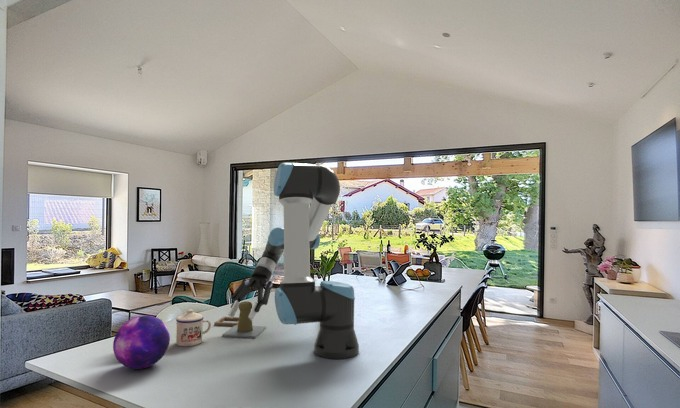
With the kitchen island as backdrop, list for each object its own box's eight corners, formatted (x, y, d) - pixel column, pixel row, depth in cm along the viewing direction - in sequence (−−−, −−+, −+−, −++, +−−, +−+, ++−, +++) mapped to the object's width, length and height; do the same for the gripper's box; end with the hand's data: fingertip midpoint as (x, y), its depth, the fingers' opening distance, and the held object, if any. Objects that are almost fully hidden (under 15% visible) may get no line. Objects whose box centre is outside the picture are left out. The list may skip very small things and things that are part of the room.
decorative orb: (106, 366, 114) (108, 315, 114) (158, 354, 124) (160, 307, 125) (120, 382, 103) (122, 326, 104) (176, 367, 114) (178, 316, 114)
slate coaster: (255, 338, 142) (255, 336, 142) (222, 336, 144) (222, 334, 144) (266, 328, 155) (266, 326, 155) (235, 326, 157) (235, 324, 157)
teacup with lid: (178, 348, 130) (179, 314, 130) (172, 341, 137) (173, 308, 138) (214, 342, 137) (215, 309, 137) (206, 336, 144) (207, 304, 145)
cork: (246, 327, 154) (247, 299, 154) (256, 330, 150) (256, 301, 150) (233, 330, 149) (234, 302, 150) (243, 333, 145) (243, 304, 146)
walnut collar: (236, 326, 157) (236, 323, 157) (214, 325, 158) (214, 322, 158) (244, 320, 167) (244, 317, 167) (223, 319, 168) (223, 316, 168)
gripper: (288, 277, 161) (267, 325, 145) (246, 274, 168) (221, 319, 153) (282, 266, 156) (260, 315, 140) (239, 263, 164) (213, 309, 148)
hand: (240, 317), depth 147 cm, fingers open, 8 cm apart
